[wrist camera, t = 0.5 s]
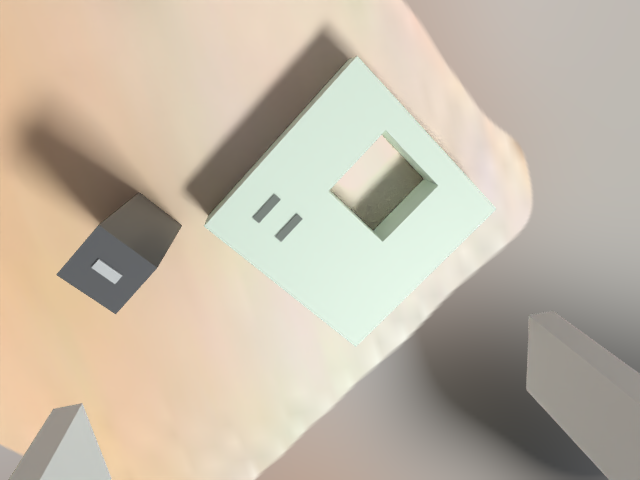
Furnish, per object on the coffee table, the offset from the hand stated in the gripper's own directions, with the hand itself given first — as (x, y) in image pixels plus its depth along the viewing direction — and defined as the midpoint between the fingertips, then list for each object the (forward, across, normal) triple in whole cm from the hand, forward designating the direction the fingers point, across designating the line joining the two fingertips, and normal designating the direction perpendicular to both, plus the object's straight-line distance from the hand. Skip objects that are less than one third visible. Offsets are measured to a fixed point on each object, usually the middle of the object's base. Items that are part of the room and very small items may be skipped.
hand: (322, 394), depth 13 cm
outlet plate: (+23, +6, -1) cm, 24 cm away
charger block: (+24, -11, 0) cm, 26 cm away
